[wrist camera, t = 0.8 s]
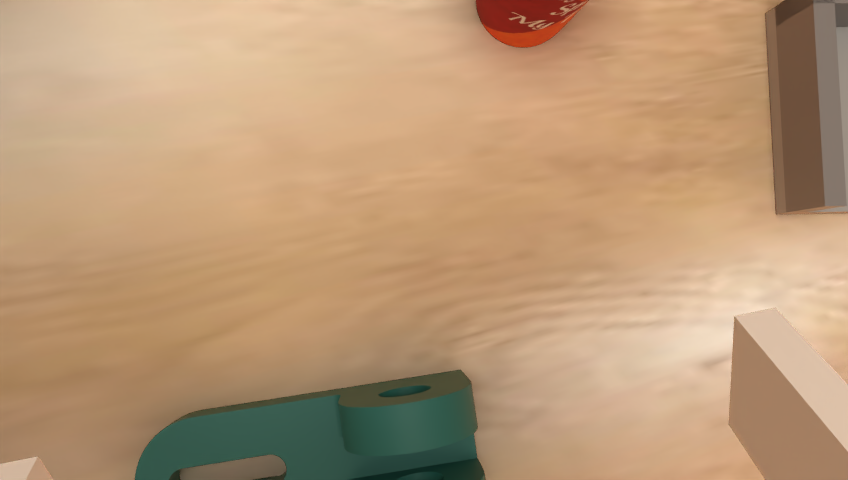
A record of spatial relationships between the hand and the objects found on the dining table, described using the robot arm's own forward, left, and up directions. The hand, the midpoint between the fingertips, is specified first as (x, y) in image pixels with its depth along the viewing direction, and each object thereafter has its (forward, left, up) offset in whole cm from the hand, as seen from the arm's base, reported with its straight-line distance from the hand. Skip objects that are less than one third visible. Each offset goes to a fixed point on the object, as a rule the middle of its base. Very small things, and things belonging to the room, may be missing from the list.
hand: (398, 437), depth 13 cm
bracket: (+3, -7, -26) cm, 28 cm away
